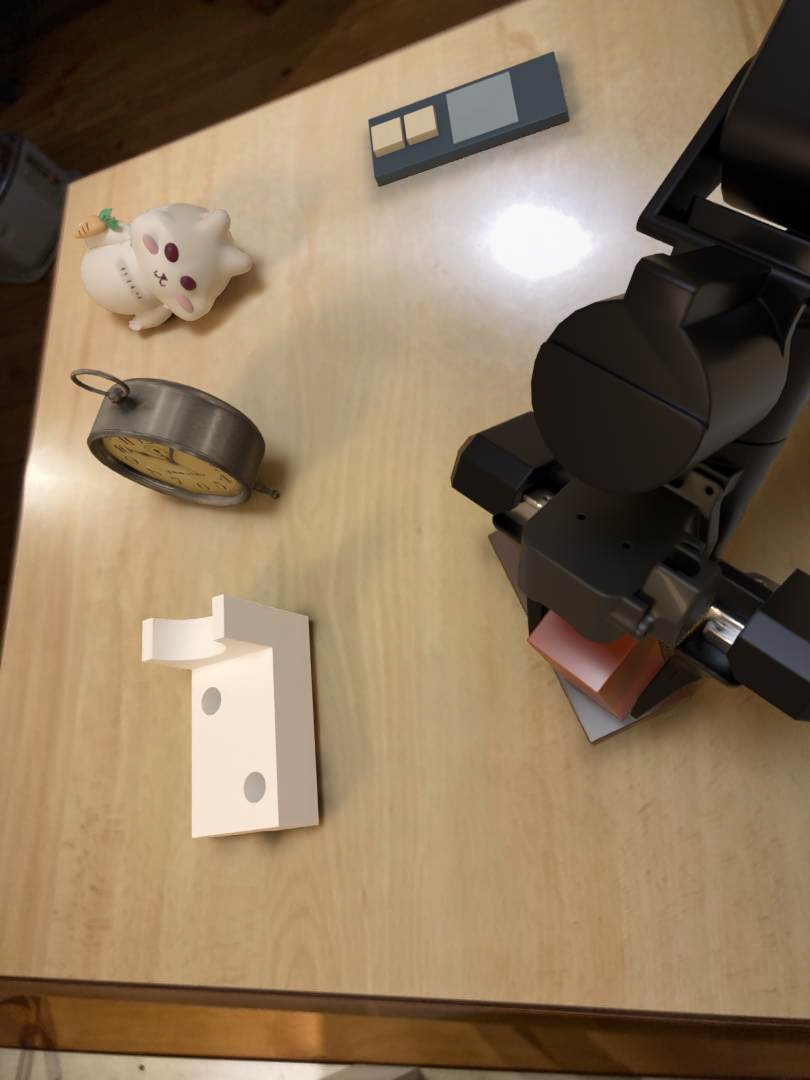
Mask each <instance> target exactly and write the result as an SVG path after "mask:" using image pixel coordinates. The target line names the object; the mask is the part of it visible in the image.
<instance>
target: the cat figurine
mask: <svg viewBox="0 0 810 1080" xmlns="http://www.w3.org/2000/svg"><path fill="white" fill-rule="evenodd" d="M113 210H114V209H113V208H103V209H102V210H100V212H99V214H98V215H96V214H95V215H89V216H88V217H87V218H85V220H83V221H81V222H80V223H79V224H78V225H77V228H76V230H75V231H74V233H73V237H74V238H75V239H78V240H79V239H80V240H81V239H83V240H84V243H85V246H86V247H87V248H88V249H87V250H86V251H85V254H84V256H83V257H82V259H81V263H80V270H79V274H80V275H79V276H80V281H81V284H82V287H83V290H84V291H85V292H86V294H87V295H88V297H89V298H90V299H91V300H92V301H93V302H94V303H96V304H97V305H98V306H99V307H101V308H103V309H105V310H107V311H109V312H112V313H114V314H119V315H128V316H129V315H130V316H131V315H132V316H134V317H133V318H132V320H129V321H128V323H129V325H128V328H130V329H131V330H133V331H140V330H141V331H142V330H146V329H151V328H157V327H159V326H161V325H162V324H163V323H165V322H166V321H167V320H168V319H170V318H171V316H172V315H173V314H174V315H175V316H176V317H178V318H180V319H182V320H184V321H186V322H194V321H197V320H198V319H201V318H202V317H204V316H205V315H206V314H208V313H209V312H210V311H211V309H212V307H213V305H214V302H215V300H216V299H217V298H218V297H219V296H220V295H221V294H222V293H223V292H224V290H225V289H226V287H227V286H228V284H229V283H230V281H231V278H232V277H236V276H240V275H243V274H245V273H247V272H249V271H250V270H251V269H252V266H253V263H252V260H251V257H249V255H247V254H246V253H245V252H243V251H242V250H240V249H239V248H237V247H236V243H235V239H234V237H233V235H232V233H231V231H230V229H231V223H232V222H231V216H230V214H229V212H228V211H227V210H226V209H223V208H219V209H216V210H211V211H210V210H209V209H207V208H205V207H202V206H200V205H198V204H193V203H185V202H183V203H181V202H180V203H177V202H176V203H166V204H160V205H155V206H154V207H151V208H149V209H148V210H146V211H145V212H144V213H142V214H139V215H137V216H136V217H135V218H133V220H132V221H129V222H125V221H122V220H118V219H116V217H115V216H113V217H112V215H111V214H112V211H113Z"/></svg>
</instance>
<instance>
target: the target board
mask: <svg viewBox="0 0 810 1080" xmlns="http://www.w3.org/2000/svg"><path fill="white" fill-rule="evenodd" d="M562 86H563V85H562V81H561V77H560V72H559V67H558V63H557V58H556V54H555V51H550V52H547V53H545V54H542V55H539V56H537V57H534V58H531V59H528V60H526V61H523V62H520V63H517V64H515V65H512V66H510V67H507V68H504V69H502V70H498V71H496V72H494V73H490V74H488V75H485V76H483V77H480V78H477V79H474V80H472V81H469V82H466V83H464V84H461V85H458V86H455V87H453V88H449V89H447V90H445V91H441V92H438V93H437V94H434V95H431V96H428V97H425V98H423V99H421V100H420V99H419V100H418V101H414V102H412V103H409V104H407V105H404V106H401V107H397V108H396V109H393V110H390V111H387V112H385V113H383V114H379V115H377V116H374V117H371V118H369V119H368V120H367V122H368V130H369V141H370V149H371V157H372V167H373V176H374V180H375V181H376V184H377V186H378V187H381V186H384V185H387V184H389V183H393V182H396V181H398V180H401V179H404V178H407V177H410V176H412V175H416V174H418V173H421V172H425V171H427V170H430V169H432V168H436V167H439V166H442V165H444V164H448V163H450V162H453V161H456V160H459V159H462V158H465V157H468V156H471V155H473V154H476V153H479V152H482V151H486V150H489V149H491V148H493V147H497V146H499V145H503V144H506V143H508V142H511V141H514V140H518V139H520V138H523V137H527V136H529V135H531V134H534V133H537V132H540V131H543V130H546V129H550V128H551V127H555V126H557V125H561V124H563V123H566V122H569V121H570V117H569V113H568V107H567V104H566V103H567V102H566V99H565V93H564V90H563V89H564V88H563V87H562Z"/></svg>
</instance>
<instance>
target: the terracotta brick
mask: <svg viewBox="0 0 810 1080" xmlns="http://www.w3.org/2000/svg"><path fill="white" fill-rule="evenodd" d="M657 639H658V638H656V637H653V636H648V637H646V638H645V639H644V640H643V641H642V642H640V643H639V642H637V641H636V640H634V639H633V637H630V636H629V635H627V634H626V633H625V634H624V635H623V636H622V637H621V638H619V639H618V640H616V641H614V642H611V643H606V644H601V643H595V642H592V641H590V640H588V639H586V638H584V637H583V636H582V635H580V634H579V633H578V632H576V630H575V629H574V627H573V626H572V625H571V624H569V623H568V622H567V621H565V620H564V619H562V618H561V617H560V616H558V615H557V614H555V613H554V612H553V611H551V610H549V611H548V612H547V614H546V615H545V616H544V618H543V619H542V620H541V622H540V623H539V624H538V625H537V627H536V628H535V629H534V631H533V632H532V633H531V635H530V636H529V635H528V637H527V638H526V642H527V644H529V645H530V646H531V647H532V648H533V649H534V650H535V652H537V653H538V654H539V655H540V657H542V659H544V660H545V661H546V662H547V663H548V664H549V665H550V666H551V668H552V667H553V668H554V669H555V670H556V671H557V672H558V673H559V674H560V675H561V676H562V677H563V678H564V679H565V680H567V681H568V682H569V683H571V684H572V685H573V686H575V687H576V688H577V689H579V690H580V691H581V692H583V693H584V694H585V695H587V696H588V697H589V698H591V699H592V700H593V701H595V702H596V703H597V704H598V705H600V706H601V707H602V708H604V709H605V710H606V711H608V712H609V713H610V714H612V715H613V716H614V717H616V718H617V719H618V720H620V721H623V720H624V719H625V717H626V716H627V715H628V713H629V712H630V711H631V709H632V708H633V706H634V704H635V702H636V700H637V698H638V697H639V695H640V694H641V693H642V692H643V690H644V689H645V688H646V687H647V685H648V684H649V683H650V682H651V680H652V679H653V678H654V677H655V675H656V674H657V673H658V672H659V670H660V669H661V668H662V667H663V666H664V661H663V658H662V654H661V651H660V647H659V644H658V641H659V640H658V641H657ZM553 668H552V669H553Z"/></svg>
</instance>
